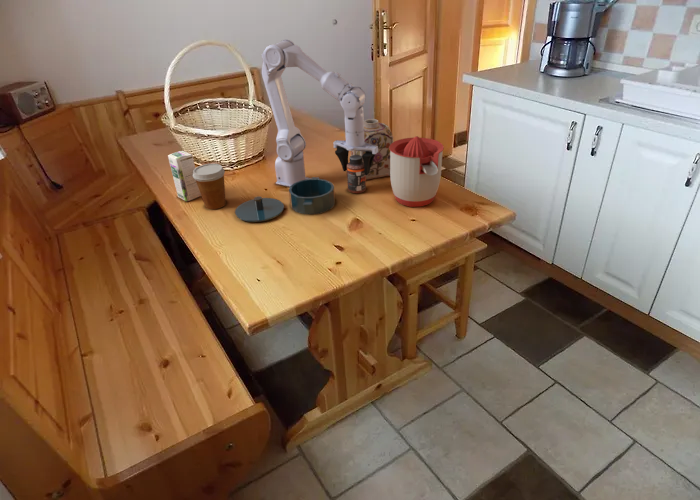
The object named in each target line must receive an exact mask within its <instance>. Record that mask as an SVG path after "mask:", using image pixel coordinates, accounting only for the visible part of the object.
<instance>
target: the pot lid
mask: <svg viewBox="0 0 700 500" xmlns="http://www.w3.org/2000/svg"><path fill="white" fill-rule="evenodd" d="M284 210H285V204H284V203H283V202H282V201H281V200H279V199H277V198H273V197H272V198H271V197H262V196H258V195H257V196H254V197H253V199H249V200H247V201H244V202H242V203H240V204H239V205H238V206H237V207H236V208H235V209H234V214H235V217H236V218H238V219H239V220H240V221H243V222H249V223H259V222H260V223H261V222H267V221H270V220H273V219H275V218H277V217H278V216H280V215H281V214H282V213H283V212H284Z"/></svg>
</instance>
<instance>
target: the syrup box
mask: <svg viewBox="0 0 700 500" xmlns="http://www.w3.org/2000/svg"><path fill="white" fill-rule="evenodd" d="M167 159H168V163H169V166H170V170H171V175H172V179H173V183H174V187H175V190H176V195H177V198H180V199H181V200H183V201H185V202H189V201H192V200H195V199H197V198H199V197H202V196H201V193H200V191H199V188H198V186H197V183H196V180H195V179H194V178H193V176H192V175H193V170H194V169H195V168H196V165H195V160H194V156H193V154H192V153H189V152H188V151H184V150H179V151H176V152H173V153H170V154H168V155H167Z"/></svg>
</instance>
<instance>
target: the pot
mask: <svg viewBox="0 0 700 500" xmlns="http://www.w3.org/2000/svg"><path fill="white" fill-rule="evenodd" d="M335 193H336V192H335V185H334V183H333V182H332V181H329V180H327V179H323V178H320V177H319V176H315V177H314V176H312V177H311V179H306V180H301V181H298V182H296V183H294V184H293V185H291V186H290V187H289V188H288V197H289V205H290V208H291V210H293V211H294V212H295V213H298V214H302V215H318V214H323V213H325V212H328V211H330V210H332V209H333V208H334V207H335V205H336V194H335Z"/></svg>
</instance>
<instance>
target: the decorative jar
mask: <svg viewBox="0 0 700 500" xmlns="http://www.w3.org/2000/svg"><path fill="white" fill-rule="evenodd" d="M364 142H365V143H368V144H371V145H374V146H378V153H376V155H375V157H374V159H373V161H372V164H371V168H370V173H369V174H368V175H366V181H367V180H371V179H378V178H384V177H389V176H390V149H389V147H390V145H391V144H392V143H393V142H394V136H393V132H392V131H391V128H390V126H389V125H387V124H386V123H384V122H379V120H378V119H375V118H368V119H364ZM365 153H366V152H362V151H356V150H353V151H350V156H352V155H360V156H362V155H363V154H365ZM362 162H363V158H362Z"/></svg>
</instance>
